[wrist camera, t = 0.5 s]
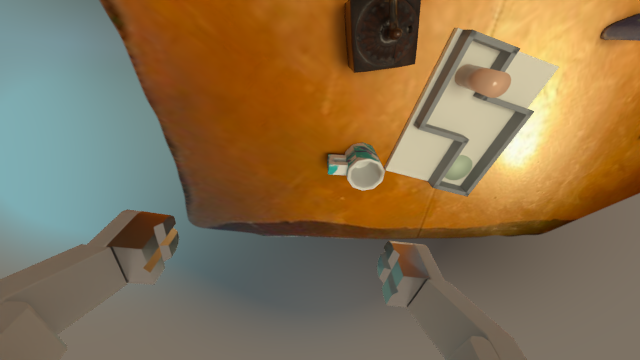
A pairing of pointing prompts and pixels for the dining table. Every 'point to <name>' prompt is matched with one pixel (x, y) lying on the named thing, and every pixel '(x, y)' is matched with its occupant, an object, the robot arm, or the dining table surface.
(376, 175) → the mug
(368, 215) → the dining table surface
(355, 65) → the coffee grinder
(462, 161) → the pad
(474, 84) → the peg
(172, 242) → the robot arm
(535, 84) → the channel
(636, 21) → the flask
